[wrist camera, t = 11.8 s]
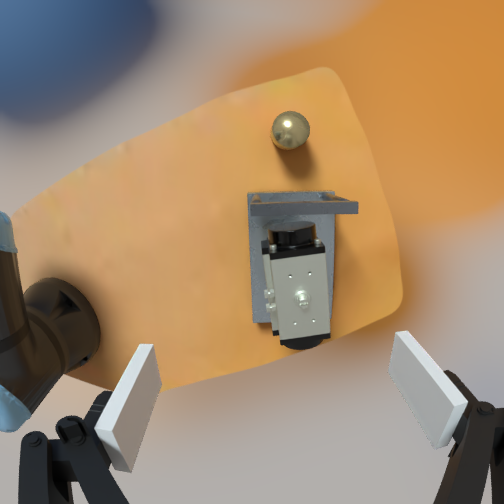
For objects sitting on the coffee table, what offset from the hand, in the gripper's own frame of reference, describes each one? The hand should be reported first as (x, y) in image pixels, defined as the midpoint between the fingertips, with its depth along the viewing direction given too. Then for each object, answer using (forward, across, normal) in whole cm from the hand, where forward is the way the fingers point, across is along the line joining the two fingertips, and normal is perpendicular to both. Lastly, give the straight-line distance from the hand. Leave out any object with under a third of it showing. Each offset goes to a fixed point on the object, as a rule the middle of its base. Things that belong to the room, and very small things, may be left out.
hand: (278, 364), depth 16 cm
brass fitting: (+25, +4, +14) cm, 29 cm away
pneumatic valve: (+22, +3, -1) cm, 23 cm away
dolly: (+25, +4, -1) cm, 25 cm away
